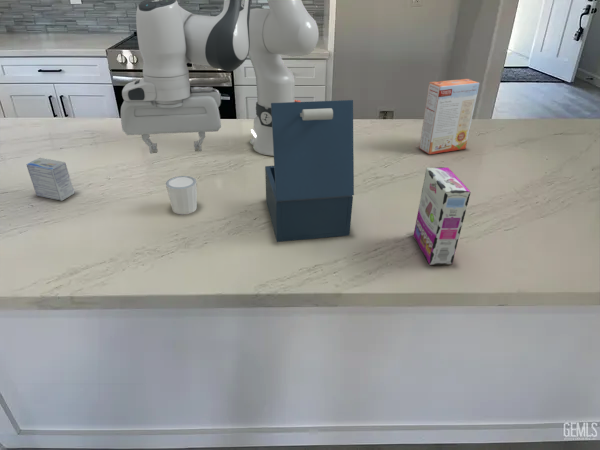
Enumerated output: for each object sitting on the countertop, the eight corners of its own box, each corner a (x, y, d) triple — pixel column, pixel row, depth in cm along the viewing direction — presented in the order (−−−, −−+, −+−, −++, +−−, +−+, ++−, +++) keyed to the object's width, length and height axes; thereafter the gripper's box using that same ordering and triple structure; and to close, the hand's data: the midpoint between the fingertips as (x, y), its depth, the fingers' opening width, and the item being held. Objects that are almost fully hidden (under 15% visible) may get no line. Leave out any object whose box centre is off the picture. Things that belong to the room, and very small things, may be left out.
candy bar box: (453, 265, 87) (472, 191, 79) (429, 266, 87) (445, 192, 78) (434, 234, 97) (449, 165, 88) (412, 235, 96) (425, 166, 88)
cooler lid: (270, 103, 84) (274, 102, 79) (351, 100, 86) (360, 99, 81) (276, 200, 88) (279, 205, 83) (352, 194, 91) (360, 199, 86)
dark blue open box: (266, 201, 108) (265, 166, 103) (329, 197, 111) (331, 162, 106) (276, 242, 93) (276, 202, 88) (349, 235, 96) (353, 196, 91)
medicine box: (75, 193, 110) (66, 161, 105) (61, 201, 106) (51, 168, 102) (50, 188, 112) (40, 156, 107) (36, 196, 108) (25, 163, 104)
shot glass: (192, 217, 101) (189, 190, 97) (164, 213, 102) (160, 186, 99) (203, 203, 107) (201, 177, 103) (177, 200, 108) (173, 174, 104)
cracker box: (454, 143, 144) (467, 77, 133) (466, 149, 140) (481, 82, 129) (417, 148, 140) (428, 80, 129) (428, 155, 135) (441, 85, 124)
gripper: (219, 82, 94) (223, 144, 101) (118, 84, 91) (130, 148, 98) (220, 90, 89) (224, 154, 96) (113, 92, 85) (126, 159, 92)
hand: (176, 151), depth 97 cm, fingers open, 8 cm apart
